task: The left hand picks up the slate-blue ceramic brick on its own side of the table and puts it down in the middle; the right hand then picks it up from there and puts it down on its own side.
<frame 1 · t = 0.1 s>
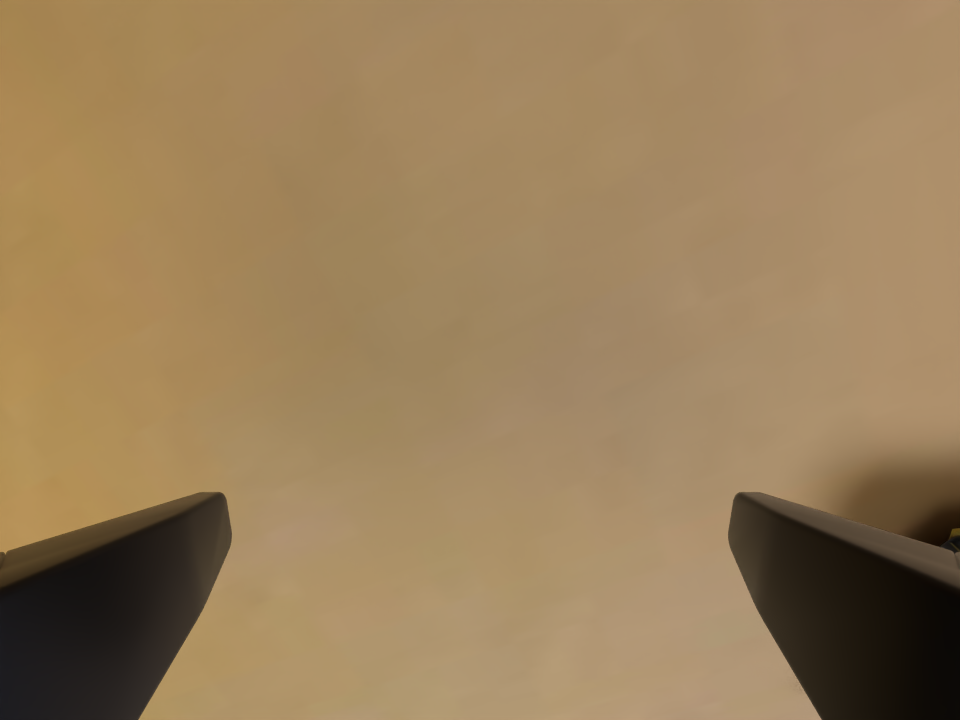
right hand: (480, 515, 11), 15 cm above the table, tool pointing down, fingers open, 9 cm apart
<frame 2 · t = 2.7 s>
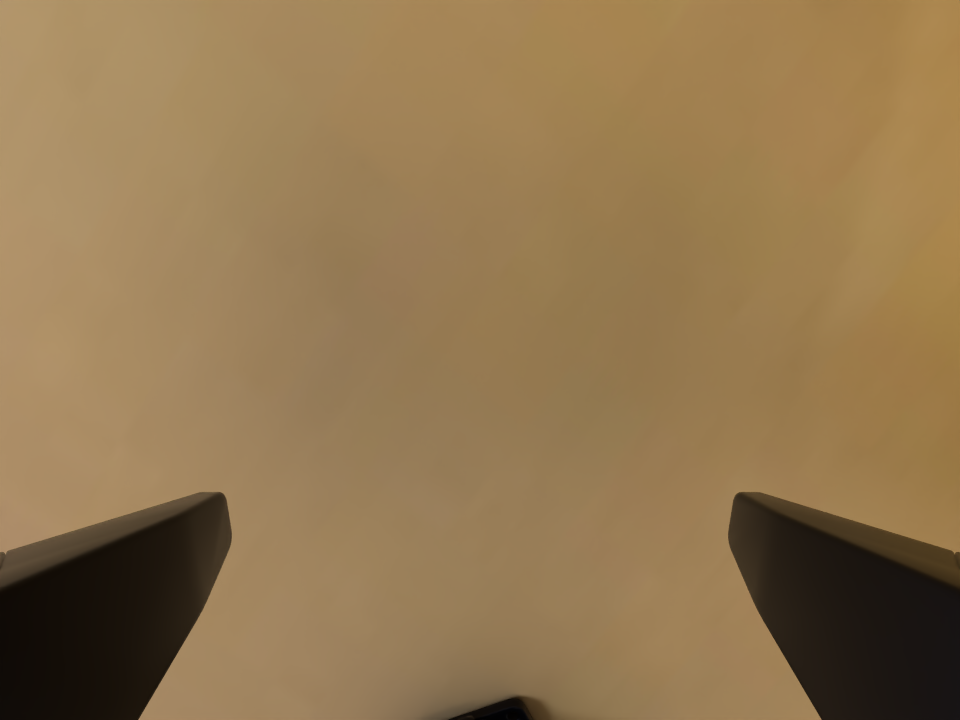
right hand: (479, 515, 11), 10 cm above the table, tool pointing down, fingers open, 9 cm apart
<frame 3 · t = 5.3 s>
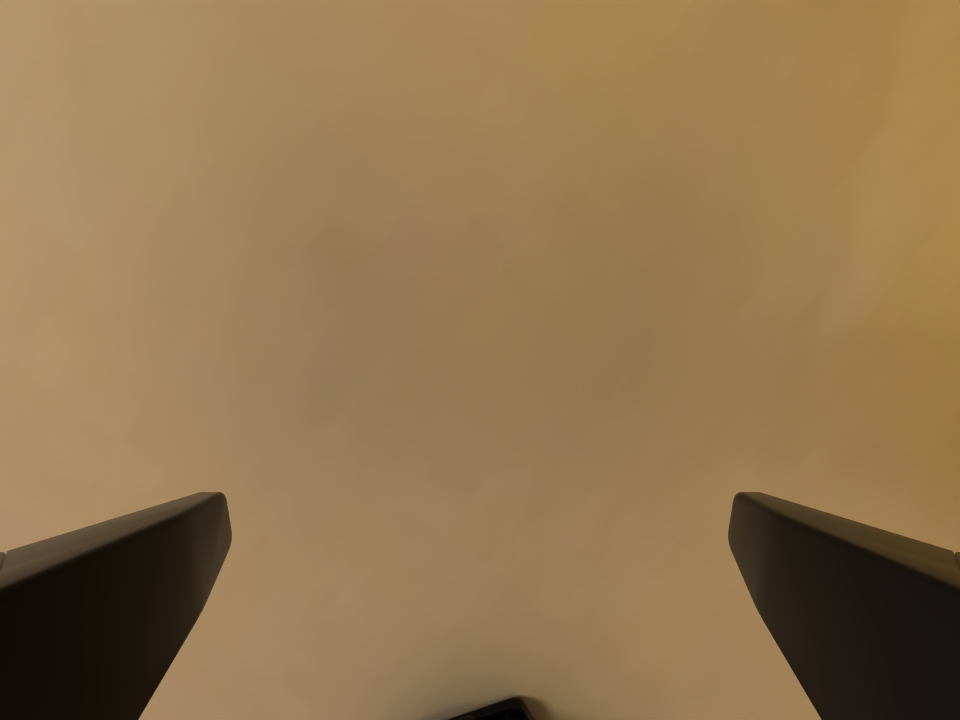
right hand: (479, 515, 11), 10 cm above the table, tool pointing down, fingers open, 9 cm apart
when the left hand's fingers open (2 cm above the table, at t = 8.1 s): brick stays where it is, on the table.
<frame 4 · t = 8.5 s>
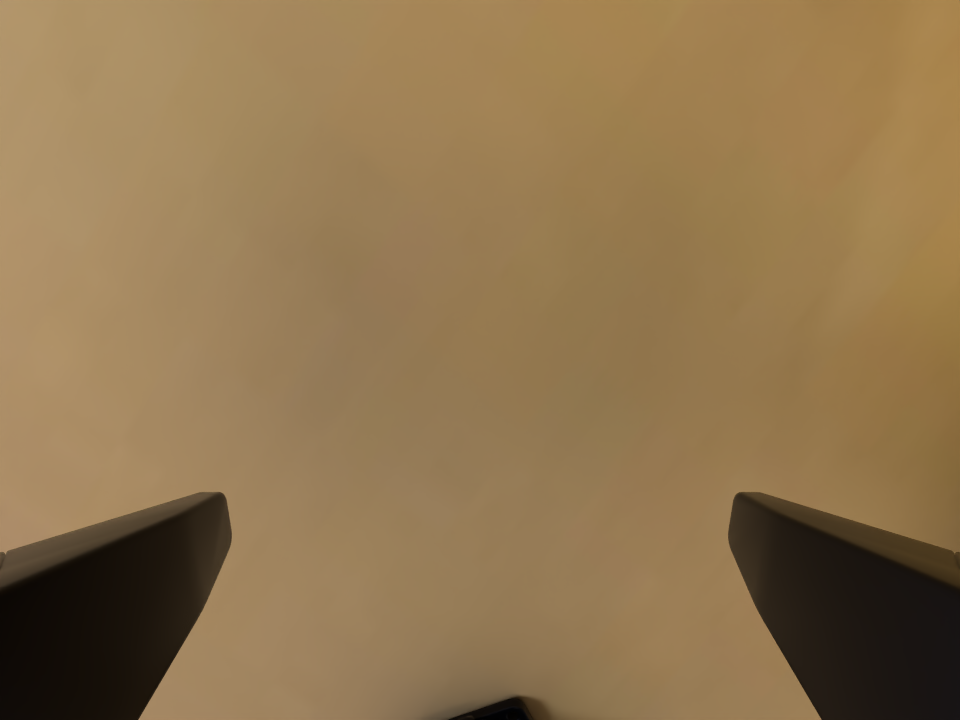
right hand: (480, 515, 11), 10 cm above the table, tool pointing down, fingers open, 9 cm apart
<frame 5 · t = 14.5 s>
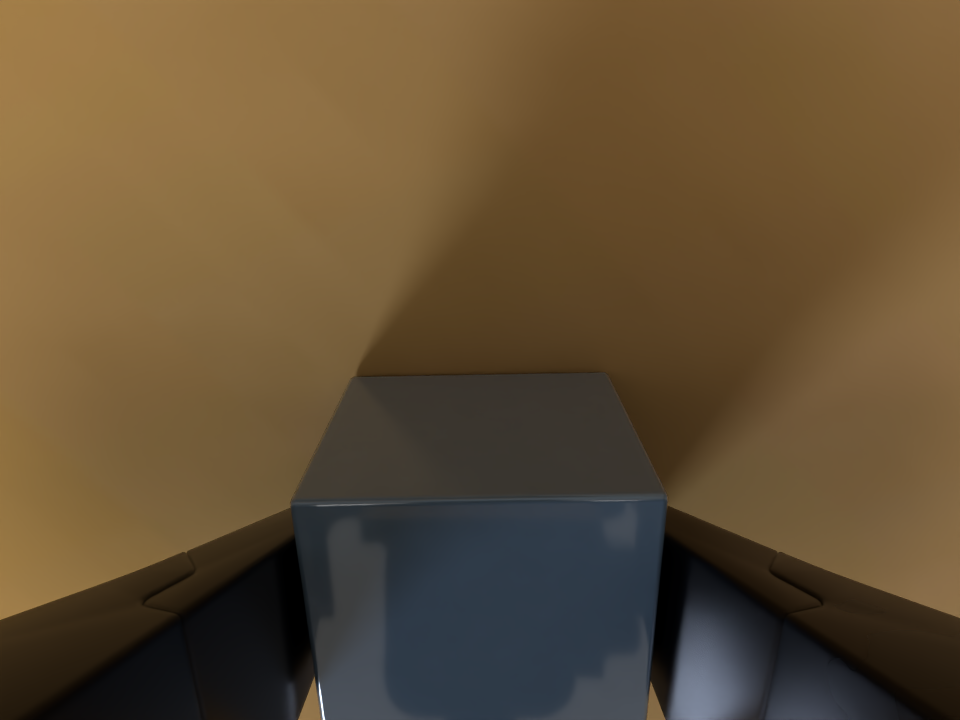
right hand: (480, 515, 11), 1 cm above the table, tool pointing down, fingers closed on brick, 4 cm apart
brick: (481, 481, 12), on the table, touching right hand
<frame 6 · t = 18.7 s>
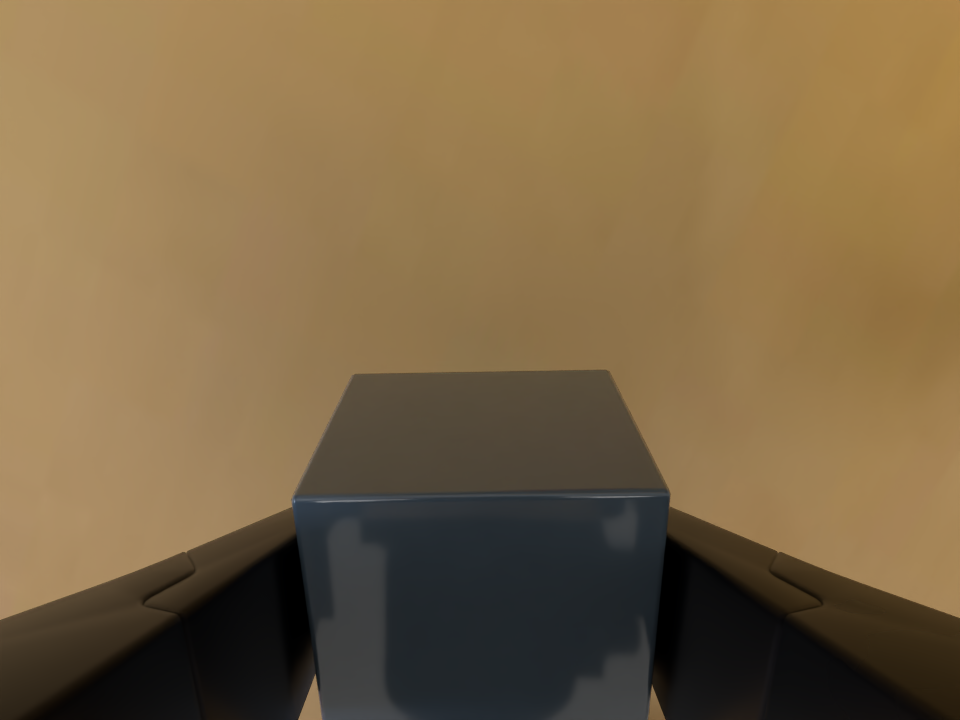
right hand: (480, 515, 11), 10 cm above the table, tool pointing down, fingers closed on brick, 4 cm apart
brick: (482, 478, 12), point 9 cm above the table, touching right hand
when the right hand's fingers open (2 cm above the table, at t = 23.0 s): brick stays where it is, on the table.
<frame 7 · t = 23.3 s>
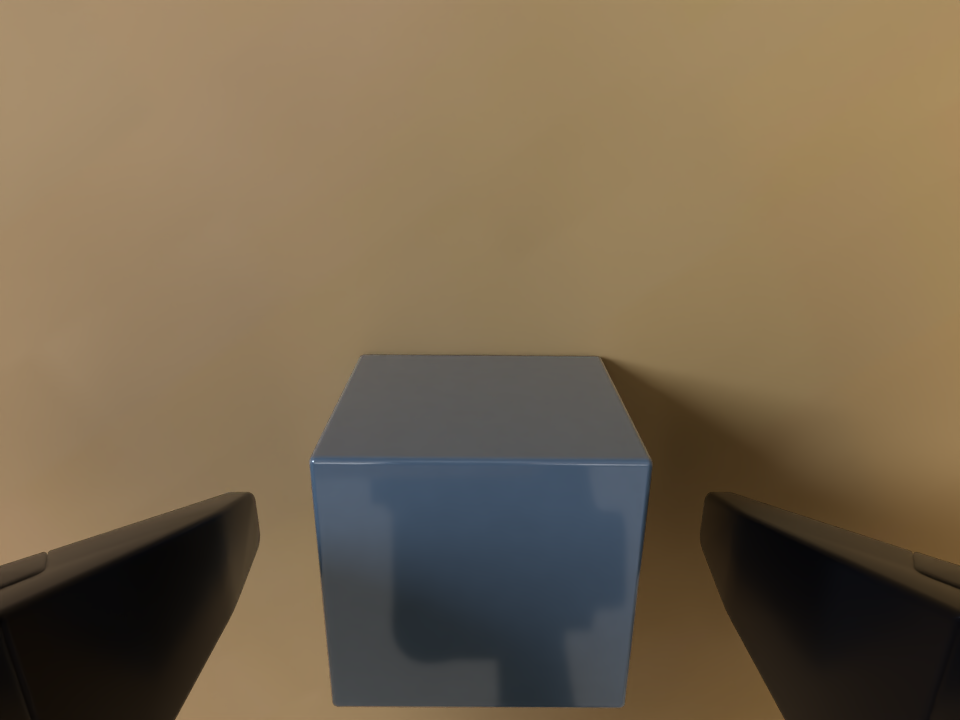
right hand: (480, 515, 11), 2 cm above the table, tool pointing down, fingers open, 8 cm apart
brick: (479, 456, 13), on the table
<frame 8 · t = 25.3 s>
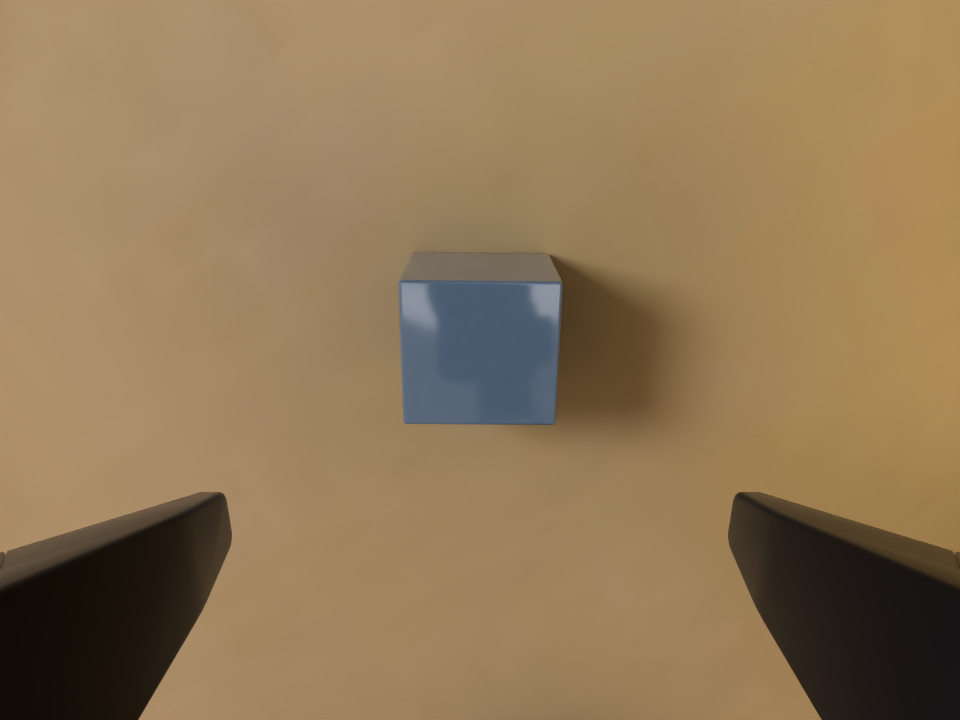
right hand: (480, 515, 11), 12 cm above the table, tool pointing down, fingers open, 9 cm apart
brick: (479, 316, 23), on the table
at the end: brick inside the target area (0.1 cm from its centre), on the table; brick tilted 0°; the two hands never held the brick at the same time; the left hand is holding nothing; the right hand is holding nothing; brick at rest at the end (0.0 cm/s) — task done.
